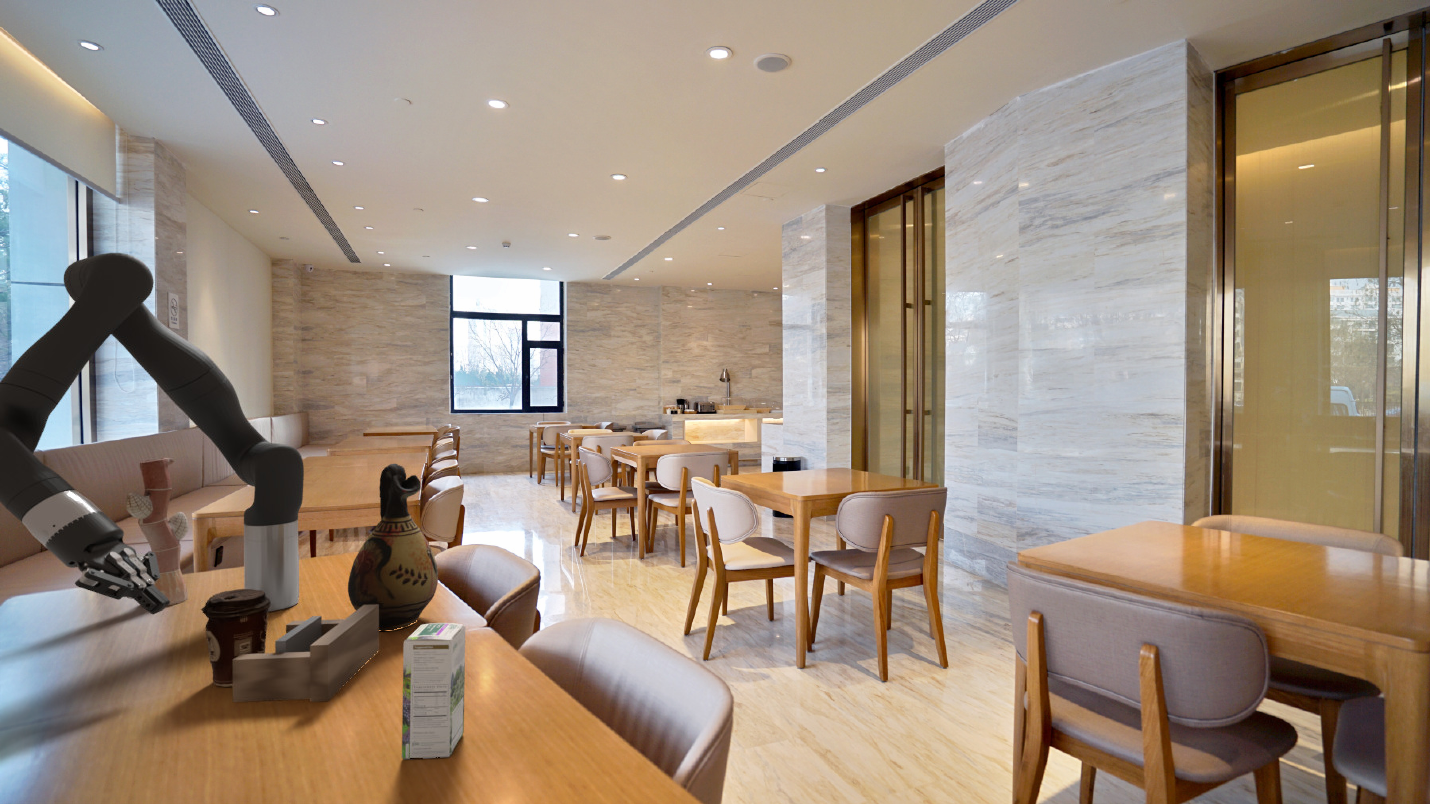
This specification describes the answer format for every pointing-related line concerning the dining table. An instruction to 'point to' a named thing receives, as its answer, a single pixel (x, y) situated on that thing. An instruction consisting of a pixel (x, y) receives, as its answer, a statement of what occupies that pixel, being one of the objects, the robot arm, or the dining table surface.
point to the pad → (300, 636)
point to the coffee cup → (235, 629)
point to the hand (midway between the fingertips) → (162, 608)
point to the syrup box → (433, 690)
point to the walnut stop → (310, 662)
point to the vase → (161, 526)
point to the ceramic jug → (394, 558)
